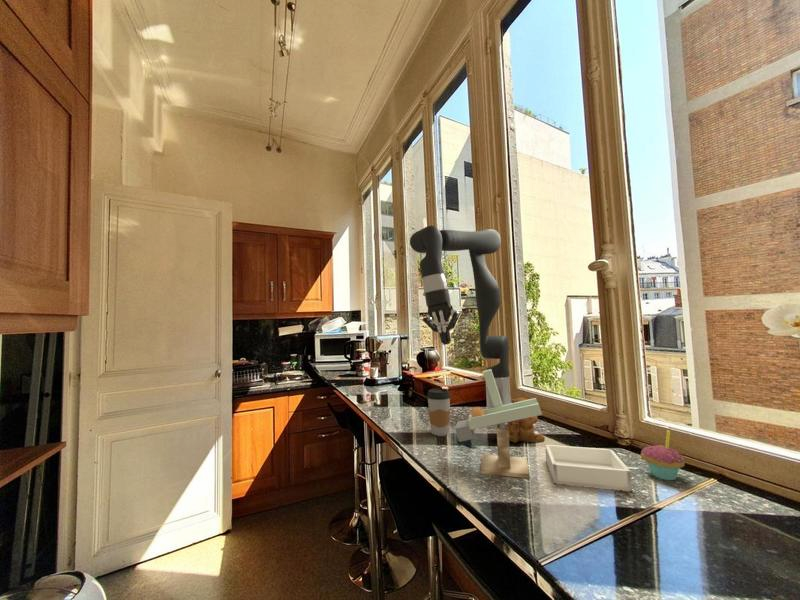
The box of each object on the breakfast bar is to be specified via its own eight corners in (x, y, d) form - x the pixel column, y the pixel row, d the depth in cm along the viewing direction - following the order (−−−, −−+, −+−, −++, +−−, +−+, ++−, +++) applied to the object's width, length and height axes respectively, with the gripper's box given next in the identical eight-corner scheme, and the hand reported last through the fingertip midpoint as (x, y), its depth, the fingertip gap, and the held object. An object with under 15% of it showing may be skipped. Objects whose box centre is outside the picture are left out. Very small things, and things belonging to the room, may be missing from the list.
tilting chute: (458, 442, 88) (441, 386, 90) (462, 431, 98) (446, 380, 100) (546, 425, 82) (525, 365, 84) (541, 414, 92) (523, 360, 94)
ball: (479, 418, 93) (472, 407, 94) (489, 414, 91) (481, 403, 92) (473, 424, 91) (466, 413, 91) (483, 421, 88) (475, 409, 89)
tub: (553, 483, 79) (552, 464, 79) (546, 460, 91) (545, 444, 92) (632, 491, 74) (630, 471, 75) (612, 466, 87) (611, 449, 87)
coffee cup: (451, 429, 120) (449, 388, 121) (452, 437, 112) (450, 393, 113) (428, 429, 121) (427, 388, 122) (428, 437, 113) (426, 393, 114)
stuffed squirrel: (547, 440, 106) (545, 399, 107) (511, 447, 101) (509, 404, 102) (525, 431, 116) (523, 393, 116) (492, 437, 111) (490, 398, 112)
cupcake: (676, 470, 84) (672, 422, 84) (693, 486, 76) (689, 434, 76) (637, 466, 87) (633, 420, 87) (649, 481, 78) (645, 431, 79)
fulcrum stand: (480, 473, 85) (478, 430, 86) (482, 457, 95) (480, 419, 96) (529, 478, 82) (527, 433, 83) (526, 461, 92) (524, 421, 92)
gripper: (412, 294, 104) (422, 348, 103) (448, 285, 96) (460, 343, 95) (424, 293, 110) (434, 344, 109) (459, 285, 102) (470, 339, 101)
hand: (446, 344), depth 102 cm, fingers closed
